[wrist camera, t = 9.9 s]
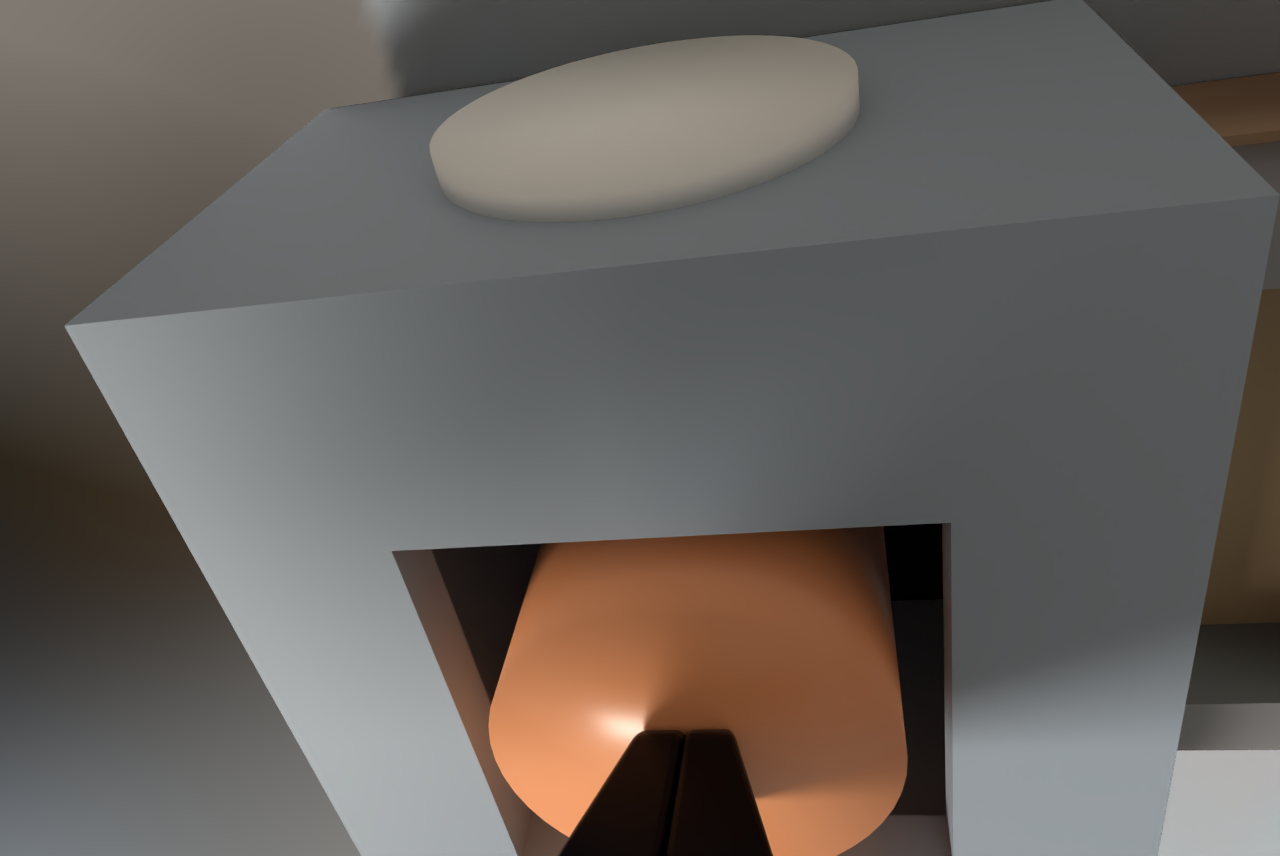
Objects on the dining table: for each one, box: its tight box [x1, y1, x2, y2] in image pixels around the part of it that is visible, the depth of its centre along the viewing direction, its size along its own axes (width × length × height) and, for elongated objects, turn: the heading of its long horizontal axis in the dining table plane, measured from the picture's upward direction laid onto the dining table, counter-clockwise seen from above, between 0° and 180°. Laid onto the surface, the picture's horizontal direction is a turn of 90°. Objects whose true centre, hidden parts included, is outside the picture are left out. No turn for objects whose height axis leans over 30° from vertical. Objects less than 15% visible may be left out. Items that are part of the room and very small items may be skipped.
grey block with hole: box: [65, 0, 1280, 856], centre depth 11 cm, size 8×9×5 cm
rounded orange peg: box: [488, 526, 908, 856], centre depth 10 cm, size 4×4×3 cm
